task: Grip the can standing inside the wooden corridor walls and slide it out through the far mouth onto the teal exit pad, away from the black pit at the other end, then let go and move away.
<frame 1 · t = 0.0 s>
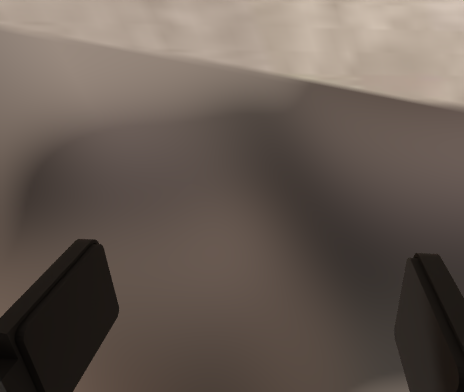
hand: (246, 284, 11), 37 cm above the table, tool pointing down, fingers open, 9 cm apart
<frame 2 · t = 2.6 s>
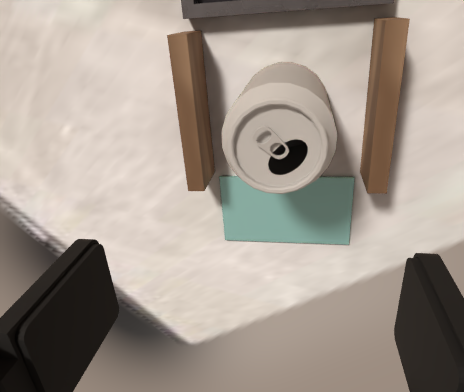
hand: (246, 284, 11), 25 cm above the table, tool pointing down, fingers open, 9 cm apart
exit pad: (285, 209, 38), on the table
wooden corridor walls: (284, 104, 33), on the table
can: (284, 104, 33), on the table
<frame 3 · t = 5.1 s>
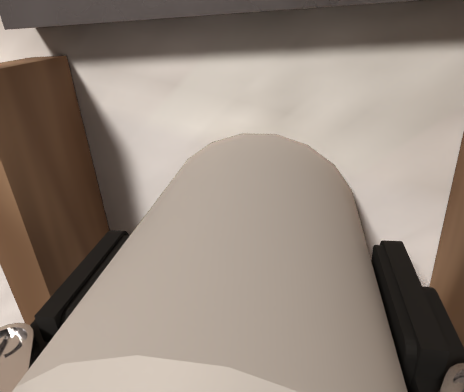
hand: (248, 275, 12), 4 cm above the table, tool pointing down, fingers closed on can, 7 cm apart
wooden corridor walls: (260, 214, 15), on the table
can: (260, 211, 15), on the table, touching gripper
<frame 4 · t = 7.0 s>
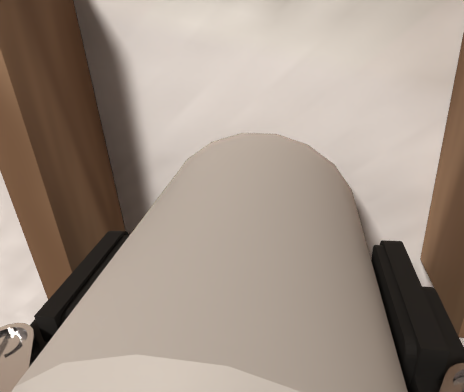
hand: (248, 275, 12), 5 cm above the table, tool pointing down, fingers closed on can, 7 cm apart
wooden corridor walls: (260, 119, 15), on the table
can: (260, 211, 15), point 1 cm above the table, touching gripper
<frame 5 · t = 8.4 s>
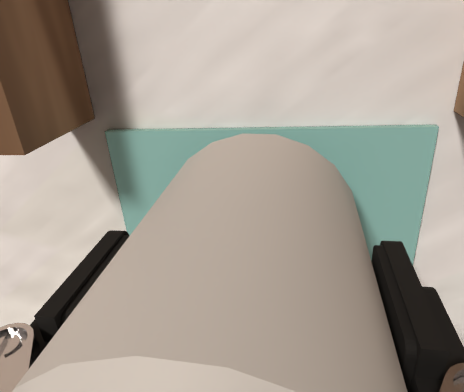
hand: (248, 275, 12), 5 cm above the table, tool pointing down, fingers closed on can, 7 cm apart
exit pad: (261, 210, 16), on the table
can: (260, 211, 15), point 1 cm above the table, touching gripper
when the fingers open (4 cm above the table, at t = 9.1 s): can stays where it is, resting on exit pad.
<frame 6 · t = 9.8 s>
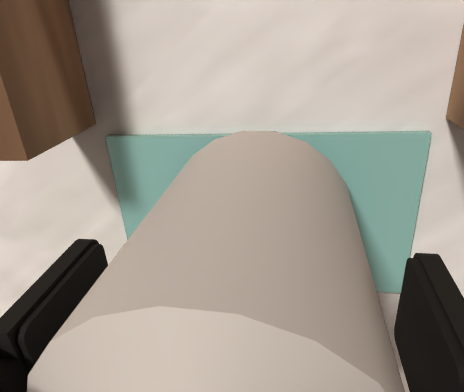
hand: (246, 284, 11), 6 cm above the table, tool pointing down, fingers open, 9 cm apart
exit pad: (259, 214, 17), on the table
can: (260, 205, 16), resting on exit pad
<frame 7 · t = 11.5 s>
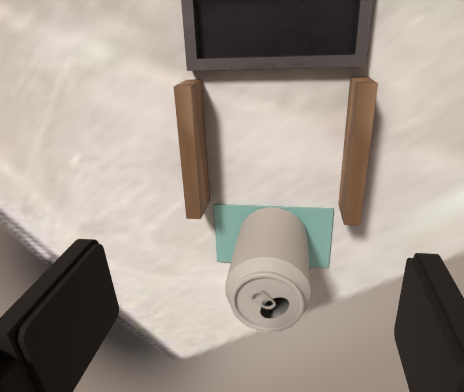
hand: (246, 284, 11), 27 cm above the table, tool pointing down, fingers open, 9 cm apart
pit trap: (274, 22, 33), on the table
exit pad: (272, 235, 42), on the table
wooden corridor walls: (273, 144, 38), on the table
can: (272, 232, 42), resting on exit pad
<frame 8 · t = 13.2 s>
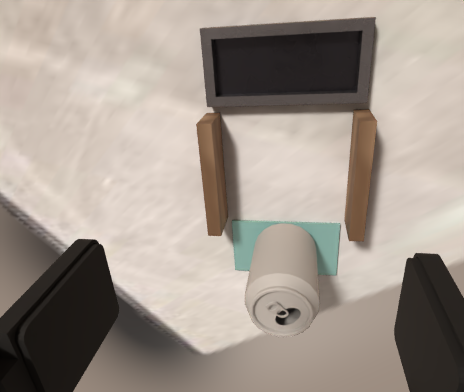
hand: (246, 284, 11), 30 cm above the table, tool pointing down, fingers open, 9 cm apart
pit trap: (284, 64, 37), on the table
exit pad: (284, 247, 47), on the table
wooden corridor walls: (284, 168, 42), on the table
can: (285, 244, 46), resting on exit pad
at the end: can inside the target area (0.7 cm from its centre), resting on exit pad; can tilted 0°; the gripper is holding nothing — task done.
